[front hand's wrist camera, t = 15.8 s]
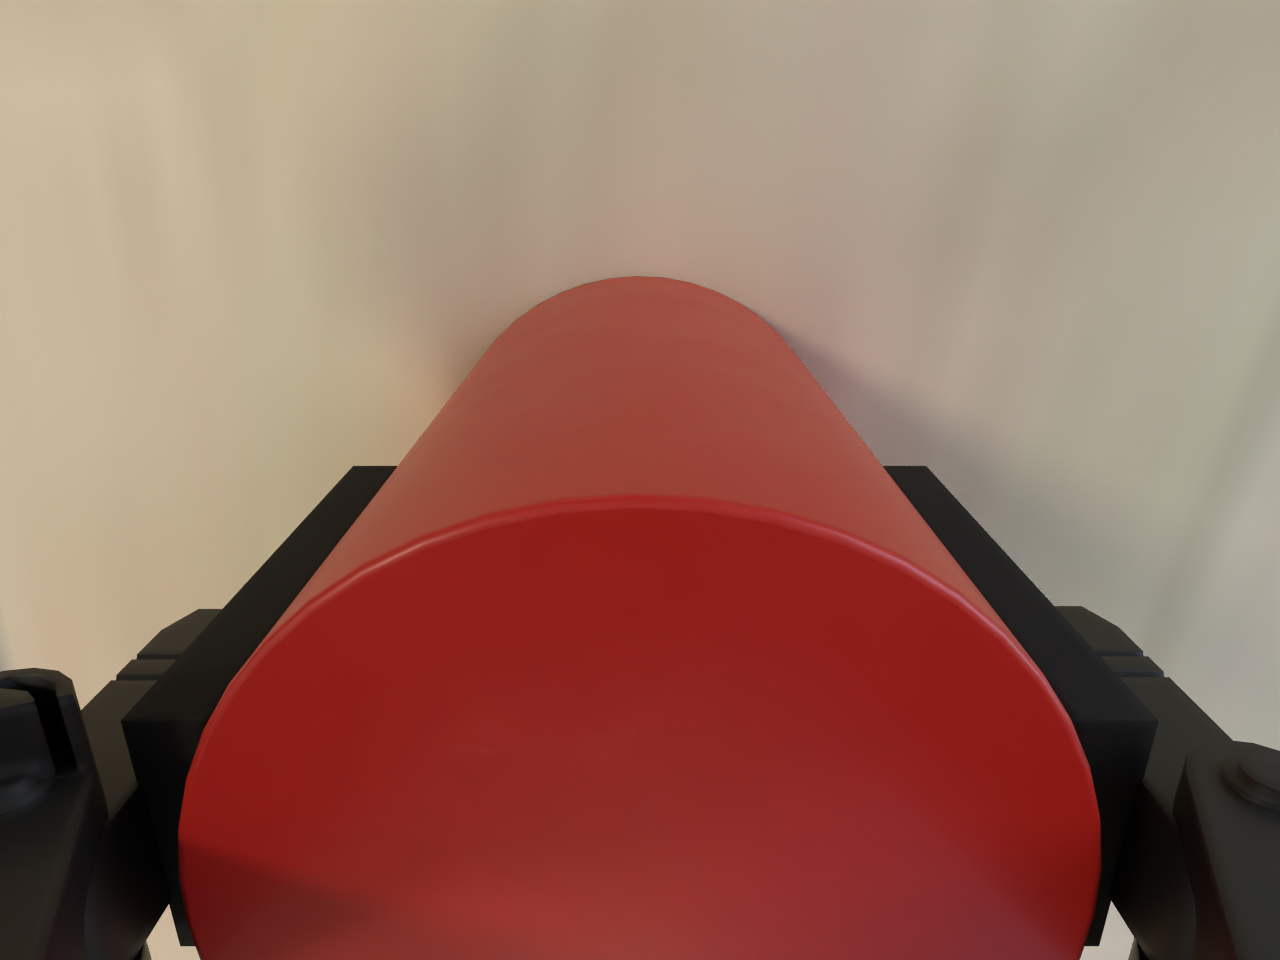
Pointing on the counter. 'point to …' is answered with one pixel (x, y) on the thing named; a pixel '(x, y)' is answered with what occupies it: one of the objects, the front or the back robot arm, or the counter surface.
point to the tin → (639, 688)
